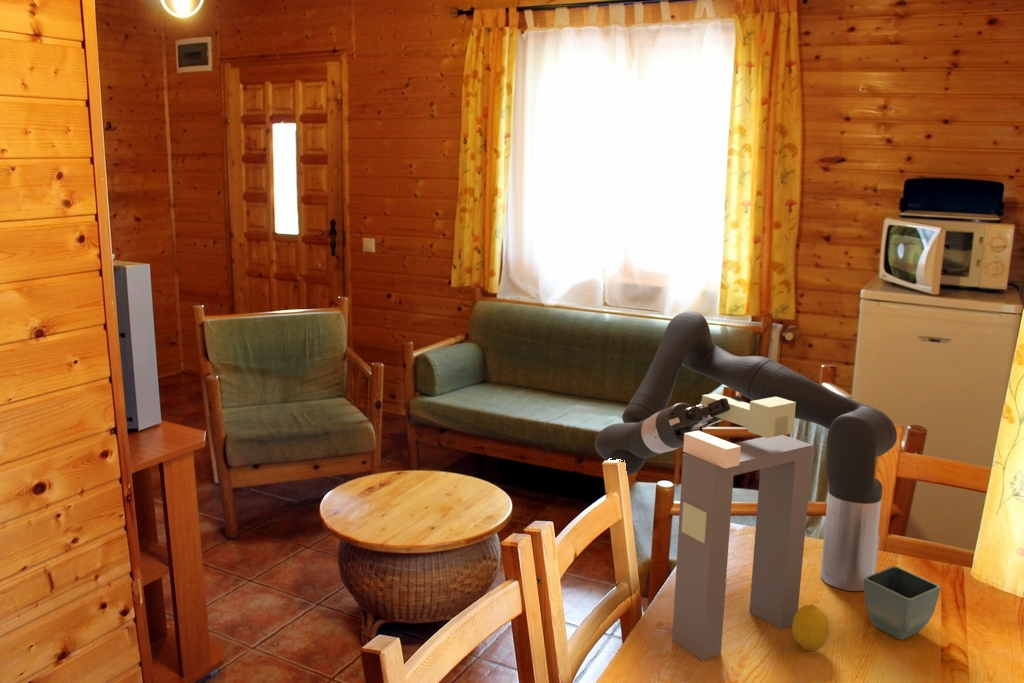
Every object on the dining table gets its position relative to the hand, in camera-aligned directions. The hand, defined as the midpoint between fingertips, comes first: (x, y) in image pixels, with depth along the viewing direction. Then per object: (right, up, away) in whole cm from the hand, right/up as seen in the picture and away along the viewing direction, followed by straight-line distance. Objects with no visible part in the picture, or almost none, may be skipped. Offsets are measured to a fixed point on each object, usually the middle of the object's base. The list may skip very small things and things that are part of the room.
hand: (734, 402), depth 140 cm
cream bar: (-6, -8, -10) cm, 14 cm away
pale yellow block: (+1, -3, -1) cm, 4 cm away
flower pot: (+28, -39, +2) cm, 48 cm away
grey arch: (0, -38, 0) cm, 38 cm away
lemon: (+11, -40, -5) cm, 42 cm away
